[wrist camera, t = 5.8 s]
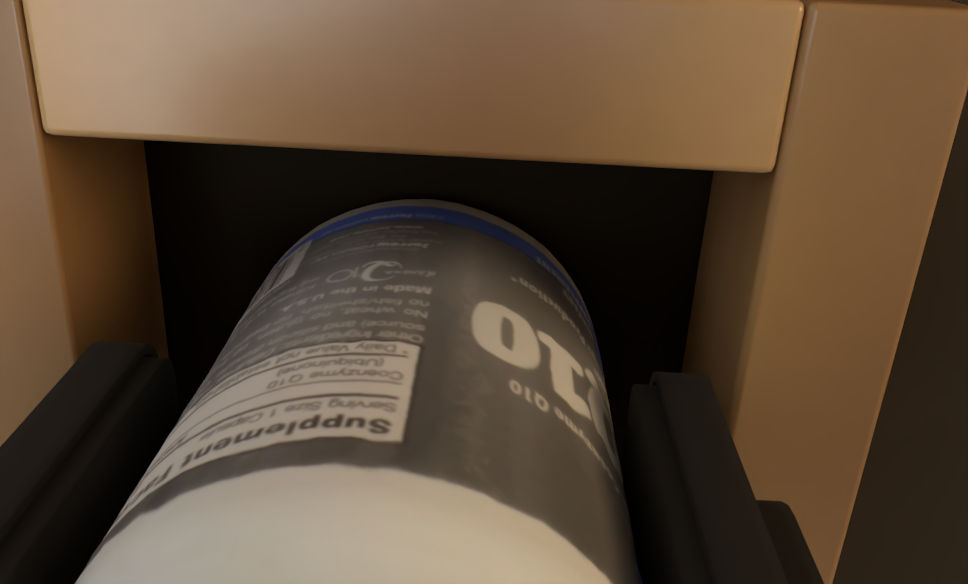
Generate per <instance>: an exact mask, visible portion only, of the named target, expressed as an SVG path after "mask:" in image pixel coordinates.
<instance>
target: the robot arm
mask: <svg viewBox="0 0 968 584" xmlns="http://www.w3.org/2000/svg"><path fill="white" fill-rule="evenodd" d="M179 418H180V412H179V404H178V395H177V386H176V377H175V370H174V366H173V363H172V361H171V360H170V359H169V358H158V354H157V352H156V349H155V347H153V346H152V345H151V344H142V343H124V342H106V341H96V342H94V343H93V344H92V345H90V346H89V348H88V349H87V350H86V351H85V352H84V353H83V354H82V355H81V357H80V358H79V359H78V360H77V361H76V362H75V363H74V364H73V366H72V367H71V368H70V369H69V370H68V371H67V372H66V374H65V375H64V376H63V377H62V378H61V379H60V380H59V381H58V383H57V384H56V385H55V386H54V387H53V388H52V389H51V390H50V392H49V393H48V394H47V395H46V396H45V397H44V398H43V399H42V401H41V402H40V403H39V404H38V405H37V406H36V407H35V408H34V410H33V411H32V412H31V413H30V414H29V415H28V416H27V417H26V419H25V420H24V421H23V422H22V423H21V424H20V425H19V426H18V428H17V429H16V430H15V431H14V432H13V433H12V434H11V435H10V437H9V438H8V439H7V440H6V441H5V442H4V443H3V444H2V446H1V447H0V584H75V583H76V581H77V579H78V578H79V576H80V575H81V573H82V572H83V570H84V569H85V567H86V565H87V563H88V562H89V560H90V558H91V556H92V554H93V553H94V551H95V550H96V549H97V547H98V546H99V545H100V543H101V542H102V540H103V539H104V537H105V536H106V534H107V533H108V531H109V530H110V528H111V526H112V525H113V523H114V522H115V520H116V518H117V517H118V515H119V513H120V512H121V510H122V509H123V507H124V505H125V504H126V502H127V500H128V498H129V497H130V495H131V494H132V492H133V491H134V489H135V488H136V486H137V485H138V483H139V482H140V480H141V479H142V477H143V476H144V474H145V472H146V471H147V469H148V467H149V466H150V464H151V463H152V461H153V460H154V458H155V457H156V455H157V454H158V452H159V450H160V449H161V447H162V445H163V444H164V442H165V440H166V439H167V437H168V436H169V434H170V433H171V431H172V430H173V428H174V427H175V425H176V424H177V422H178V420H179ZM621 471H622V476H623V481H624V483H623V486H624V491H625V496H626V500H627V504H628V510H629V516H630V522H631V528H632V534H633V539H634V545H635V551H636V557H637V563H638V568H639V571H640V574H641V577H642V582H643V584H824V582H823V580H822V577H821V575H820V573H819V570H818V568H817V566H816V563H815V561H814V559H813V557H812V554H811V552H810V550H809V547H808V545H807V543H806V541H805V538H804V536H803V534H802V531H801V529H800V527H799V524H798V522H797V520H796V518H795V515H794V514H793V512H792V510H791V509H790V507H789V505H787V504H786V503H784V502H782V501H769V500H756V498H755V496H754V493H753V491H752V488H751V485H750V483H749V480H748V478H747V475H746V472H745V470H744V467H743V465H742V462H741V459H740V457H739V454H738V452H737V449H736V446H735V444H734V441H733V439H732V436H731V433H730V431H729V428H728V426H727V423H726V421H725V418H724V415H723V413H722V410H721V408H720V405H719V402H718V400H717V397H716V395H715V392H714V389H713V387H712V384H711V382H710V379H709V378H708V376H707V375H705V374H688V373H670V372H654V373H653V374H652V376H651V379H650V383H649V385H645V384H634V385H633V386H632V390H631V395H630V401H629V409H628V416H627V423H626V431H625V438H624V446H623V453H622V461H621Z"/></svg>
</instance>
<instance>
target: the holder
mask: <svg viewBox="0 0 968 584" xmlns="http://www.w3.org/2000/svg"><path fill="white" fill-rule="evenodd" d="M967 90H968V5H964V4H961V3H958V2H954V1H951V0H0V447H1V446H2V444H3V443H4V442H5V441H6V440H7V439H8V438H9V437H10V435H11V434H12V433H13V432H14V431H15V430H16V429H17V428H18V426H19V425H20V424H21V423H22V422H23V421H24V420H25V419H26V417H27V416H28V415H29V414H30V413H31V412H32V411H33V410H34V408H35V407H36V406H37V405H38V404H39V403H40V402H41V401H42V399H43V398H44V397H45V396H46V395H47V394H48V393H49V392H50V390H51V389H52V388H53V387H54V386H55V385H56V384H57V383H58V381H59V380H60V379H61V378H62V377H63V376H64V375H65V374H66V372H67V371H68V370H69V369H70V368H71V367H72V366H73V364H74V363H75V362H76V361H77V360H78V359H79V358H80V357H81V355H82V354H83V353H84V352H85V351H86V350H87V349H88V348H89V346H90V345H92V344H93V343H94V342H96V341H106V342H124V343H142V344H151V345H152V346H153V347H155V349H156V352H157V354H158V358H169V355H168V346H167V337H166V329H165V320H164V312H163V303H162V294H161V286H160V277H159V268H158V260H157V251H156V242H155V234H154V225H153V217H152V208H151V199H150V191H149V182H148V173H147V165H146V156H145V148H144V140H152V141H171V142H190V143H208V144H227V145H246V146H264V147H283V148H302V149H320V150H339V151H358V152H376V153H395V154H414V155H432V156H451V157H469V158H488V159H507V160H525V161H544V162H563V163H581V164H600V165H619V166H637V167H656V168H675V169H693V170H712V171H714V172H713V178H712V184H711V191H710V197H709V203H708V209H707V215H706V222H705V228H704V234H703V240H702V247H701V253H700V259H699V265H698V271H697V278H696V284H695V290H694V296H693V303H692V309H691V315H690V321H689V327H688V334H687V340H686V346H685V352H684V359H683V365H682V371H681V373H688V374H705V375H707V376H708V378H709V379H710V382H711V384H712V387H713V389H714V392H715V395H716V397H717V400H718V402H719V405H720V408H721V410H722V413H723V415H724V418H725V421H726V423H727V426H728V428H729V431H730V433H731V436H732V439H733V441H734V444H735V446H736V449H737V452H738V454H739V457H740V459H741V462H742V465H743V467H744V470H745V472H746V475H747V478H748V480H749V483H750V485H751V488H752V491H753V493H754V496H755V498H756V500H769V501H782V502H784V503H786V504H787V505H789V507H790V509H791V510H792V512H793V514H794V515H795V518H796V520H797V522H798V524H799V527H800V529H801V531H802V534H803V536H804V538H805V541H806V543H807V545H808V547H809V550H810V552H811V554H812V557H813V559H814V561H815V563H816V566H817V568H818V570H819V573H820V575H821V577H822V580H823V582H824V584H832V583H833V579H834V575H835V572H836V568H837V565H838V561H839V557H840V554H841V550H842V546H843V543H844V539H845V535H846V532H847V528H848V524H849V521H850V517H851V513H852V510H853V506H854V502H855V499H856V495H857V491H858V488H859V484H860V480H861V477H862V473H863V470H864V466H865V462H866V459H867V455H868V451H869V448H870V444H871V440H872V437H873V433H874V429H875V426H876V422H877V418H878V415H879V411H880V407H881V404H882V400H883V396H884V393H885V389H886V385H887V382H888V378H889V375H890V371H891V367H892V364H893V360H894V356H895V353H896V349H897V345H898V342H899V338H900V334H901V331H902V327H903V323H904V320H905V316H906V312H907V309H908V305H909V301H910V298H911V294H912V290H913V287H914V283H915V280H916V276H917V272H918V269H919V265H920V261H921V258H922V254H923V250H924V247H925V243H926V239H927V236H928V232H929V228H930V225H931V221H932V217H933V214H934V210H935V206H936V203H937V199H938V195H939V192H940V188H941V185H942V181H943V177H944V174H945V170H946V166H947V163H948V159H949V155H950V152H951V148H952V144H953V141H954V137H955V133H956V130H957V126H958V122H959V119H960V115H961V111H962V108H963V104H964V100H965V97H966V93H967Z"/></svg>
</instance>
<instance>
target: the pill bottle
mask: <svg viewBox="0 0 968 584" xmlns="http://www.w3.org/2000/svg"><path fill="white" fill-rule="evenodd" d="M623 483H624V481H623V476H622V471H621V466H620V461H619V457H618V453H617V444H616V440H615V435H614V429H613V423H612V418H611V413H610V407H609V401H608V397H607V391H606V386H605V379H604V374H603V368H602V362H601V357H600V352H599V348H598V343H597V339H596V335H595V332H594V328H593V324H592V321H591V318H590V315H589V313H588V310H587V308H586V306H585V303H584V301H583V299H582V296H581V294H580V292H579V290H578V289H577V287H576V286H575V284H574V282H573V281H572V279H571V277H570V276H569V275H568V273H567V272H566V271H565V269H564V268H563V266H562V265H561V264H560V263H559V262H558V261H557V259H556V258H555V257H554V256H553V255H552V254H551V253H550V251H549V250H547V249H546V248H545V247H544V246H543V245H542V244H541V243H539V242H538V241H537V240H535V239H534V238H533V237H531V236H530V235H528V234H527V233H525V232H524V231H522V230H521V229H519V228H518V227H516V226H514V225H513V224H511V223H509V222H507V221H505V220H503V219H501V218H499V217H496V216H494V215H491V214H489V213H487V212H484V211H481V210H479V209H475V208H472V207H469V206H466V205H463V204H459V203H455V202H449V201H443V200H434V199H403V200H394V201H387V202H381V203H375V204H372V205H368V206H364V207H361V208H358V209H354V210H351V211H348V212H346V213H344V214H341V215H339V216H337V217H334V218H332V219H330V220H328V221H326V222H324V223H322V224H321V225H319V226H317V227H316V228H315V229H313V230H312V231H310V232H309V233H308V234H306V235H305V236H304V237H302V238H301V239H300V240H299V241H298V242H297V243H295V244H294V245H293V246H292V247H291V248H290V249H289V250H288V251H287V252H286V253H285V254H284V255H283V256H282V258H281V259H280V260H279V261H278V262H277V264H276V265H275V266H274V267H273V268H272V270H271V271H270V273H269V274H268V276H267V277H266V279H265V280H264V282H263V283H262V285H261V286H260V288H259V289H258V291H257V292H256V294H255V295H254V297H253V298H252V300H251V302H250V305H249V306H248V308H247V310H246V311H245V313H244V314H243V316H242V317H241V319H240V320H239V322H238V324H237V325H236V327H235V329H234V331H233V333H232V334H231V336H230V338H229V340H228V341H227V343H226V345H225V347H224V348H223V350H222V351H221V353H220V354H219V356H218V358H217V360H216V361H215V363H214V365H213V367H212V368H211V370H210V372H209V373H208V375H207V376H206V378H205V379H204V381H203V382H202V384H201V385H200V387H199V389H198V390H197V392H196V393H195V395H194V396H193V398H192V399H191V401H190V402H189V404H188V405H187V407H186V408H185V410H184V411H183V413H182V415H181V417H180V418H179V420H178V422H177V424H176V425H175V427H174V428H173V430H172V431H171V433H170V434H169V436H168V437H167V439H166V440H165V442H164V444H163V445H162V447H161V449H160V450H159V452H158V454H157V455H156V457H155V458H154V460H153V461H152V463H151V464H150V466H149V467H148V469H147V471H146V472H145V474H144V476H143V477H142V479H141V480H140V482H139V483H138V485H137V486H136V488H135V489H134V491H133V492H132V494H131V495H130V497H129V498H128V500H127V502H126V504H125V505H124V507H123V509H122V510H121V512H120V513H119V515H118V517H117V518H116V520H115V522H114V523H113V525H112V526H111V528H110V530H109V531H108V533H107V534H106V536H105V537H104V539H103V540H102V542H101V543H100V545H99V546H98V547H97V549H96V550H95V551H94V553H93V554H92V556H91V558H90V560H89V562H88V563H87V565H86V567H85V569H84V570H83V572H82V573H81V575H80V576H79V578H78V579H77V581H76V583H75V584H643V582H642V577H641V574H640V571H639V568H638V563H637V557H636V551H635V545H634V539H633V534H632V528H631V522H630V516H629V510H628V504H627V500H626V496H625V491H624V486H623Z"/></svg>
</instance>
